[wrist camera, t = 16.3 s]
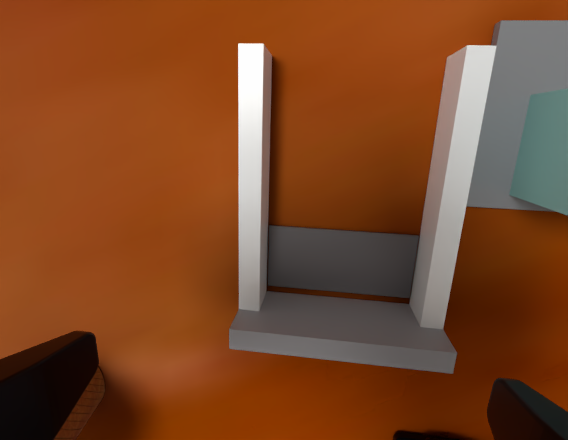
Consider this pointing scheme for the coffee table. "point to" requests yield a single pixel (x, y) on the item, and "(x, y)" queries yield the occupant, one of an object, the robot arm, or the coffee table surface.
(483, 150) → the coaster
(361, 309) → the channel
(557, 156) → the block
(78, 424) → the disposable coffee cup
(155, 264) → the coffee table surface
